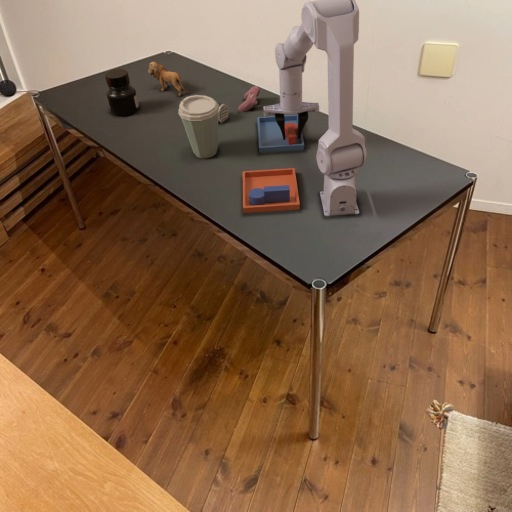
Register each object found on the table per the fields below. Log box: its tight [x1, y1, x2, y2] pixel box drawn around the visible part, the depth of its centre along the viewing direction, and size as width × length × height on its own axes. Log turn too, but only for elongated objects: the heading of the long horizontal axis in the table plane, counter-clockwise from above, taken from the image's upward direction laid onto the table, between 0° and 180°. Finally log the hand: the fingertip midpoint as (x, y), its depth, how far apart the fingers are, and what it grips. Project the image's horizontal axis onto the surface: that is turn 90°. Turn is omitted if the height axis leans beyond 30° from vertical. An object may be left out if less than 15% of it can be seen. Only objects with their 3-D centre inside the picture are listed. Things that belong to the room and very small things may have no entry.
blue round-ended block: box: [249, 185, 290, 206], centre depth 120 cm, size 10×4×4 cm, turn 91°
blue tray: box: [256, 114, 305, 154], centre depth 143 cm, size 17×12×2 cm
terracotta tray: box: [242, 167, 301, 214], centre depth 124 cm, size 15×13×2 cm
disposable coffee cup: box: [177, 94, 219, 159], centre depth 135 cm, size 11×11×15 cm
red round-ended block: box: [285, 123, 297, 145], centre depth 141 cm, size 10×4×4 cm, turn 1°
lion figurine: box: [146, 61, 190, 97], centre depth 168 cm, size 15×5×9 cm, turn 62°
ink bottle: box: [104, 68, 140, 117], centre depth 158 cm, size 10×9×12 cm
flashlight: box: [178, 95, 230, 124], centre depth 154 cm, size 15×5×5 cm, turn 58°
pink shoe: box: [237, 85, 262, 112], centre depth 157 cm, size 10×5×7 cm, turn 168°
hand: (291, 137), depth 139 cm, fingers open, 3 cm apart
